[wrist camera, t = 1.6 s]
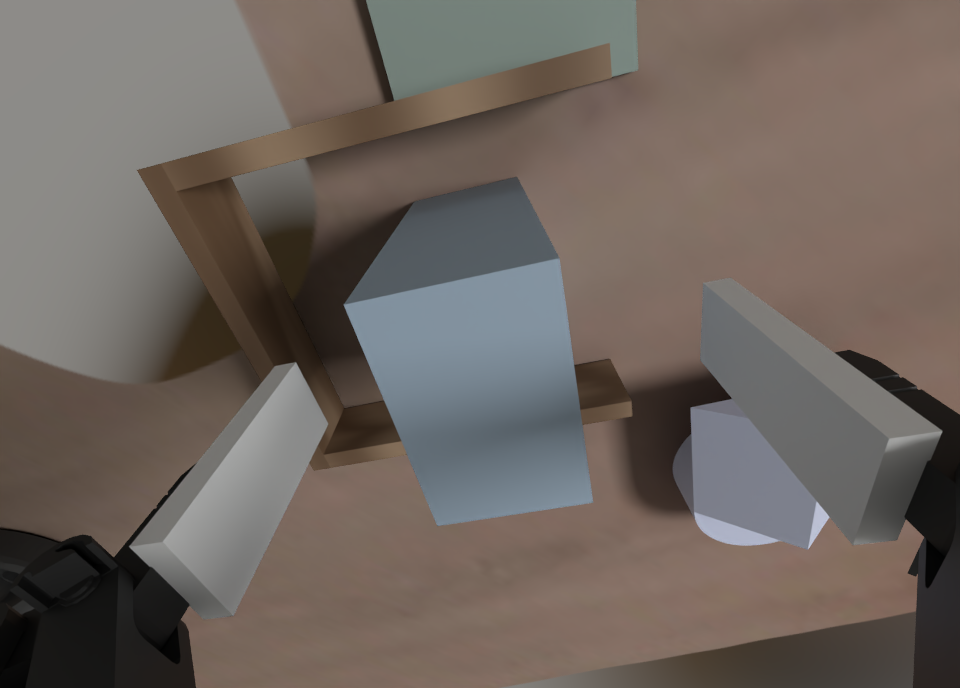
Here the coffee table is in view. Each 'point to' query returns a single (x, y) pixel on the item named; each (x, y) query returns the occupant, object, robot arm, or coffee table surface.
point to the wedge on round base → (742, 482)
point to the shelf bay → (256, 283)
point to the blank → (476, 355)
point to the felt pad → (493, 37)
